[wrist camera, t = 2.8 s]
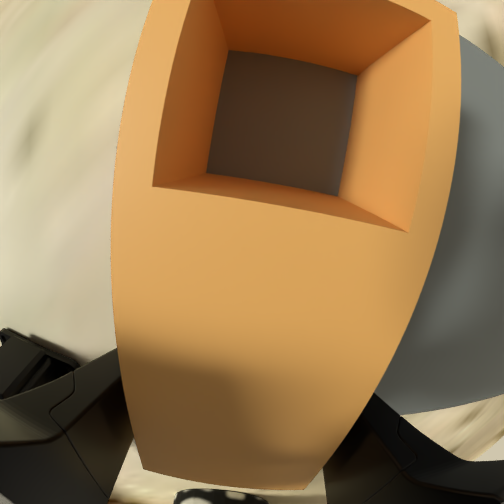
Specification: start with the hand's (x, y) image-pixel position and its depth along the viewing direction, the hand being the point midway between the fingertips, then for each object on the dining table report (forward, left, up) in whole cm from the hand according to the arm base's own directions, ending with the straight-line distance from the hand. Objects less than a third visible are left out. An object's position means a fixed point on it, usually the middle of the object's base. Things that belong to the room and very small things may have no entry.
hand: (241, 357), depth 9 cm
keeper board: (+5, -7, -2) cm, 9 cm away
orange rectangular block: (+4, 0, 0) cm, 4 cm away
